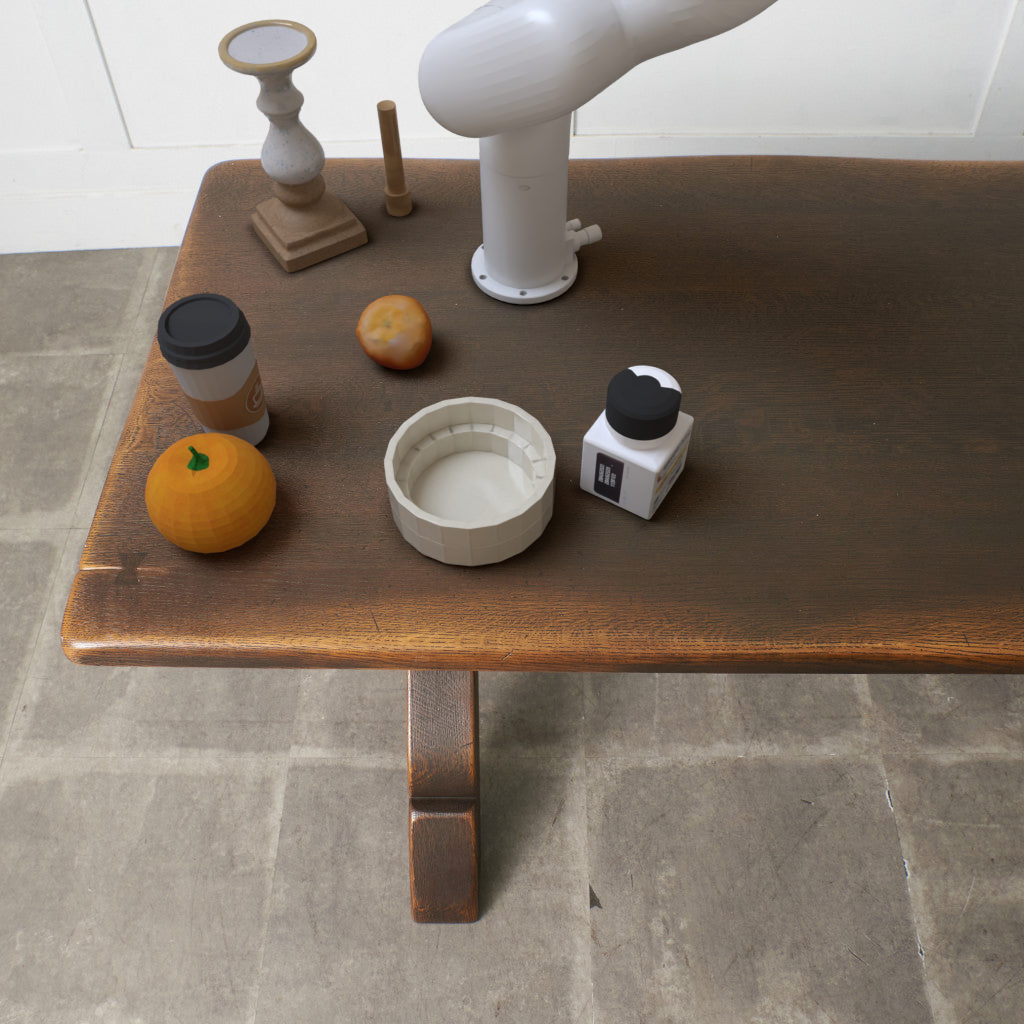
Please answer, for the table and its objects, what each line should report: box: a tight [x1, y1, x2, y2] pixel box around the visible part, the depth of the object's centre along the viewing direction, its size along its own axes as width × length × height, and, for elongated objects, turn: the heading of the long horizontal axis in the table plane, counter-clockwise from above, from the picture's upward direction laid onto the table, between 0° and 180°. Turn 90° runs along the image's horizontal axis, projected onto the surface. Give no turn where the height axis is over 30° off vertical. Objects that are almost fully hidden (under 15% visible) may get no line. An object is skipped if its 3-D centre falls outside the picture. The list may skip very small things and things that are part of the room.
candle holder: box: [217, 18, 368, 274], centre depth 106 cm, size 11×11×24 cm
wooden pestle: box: [376, 99, 413, 218], centre depth 113 cm, size 3×3×14 cm
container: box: [579, 365, 695, 520], centre depth 87 cm, size 8×8×13 cm
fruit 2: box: [355, 294, 433, 371], centre depth 101 cm, size 8×8×8 cm
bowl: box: [383, 396, 557, 567], centre depth 88 cm, size 16×16×6 cm
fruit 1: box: [144, 432, 277, 554], centre depth 86 cm, size 12×12×10 cm
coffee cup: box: [156, 292, 270, 447], centre depth 90 cm, size 8×8×15 cm
